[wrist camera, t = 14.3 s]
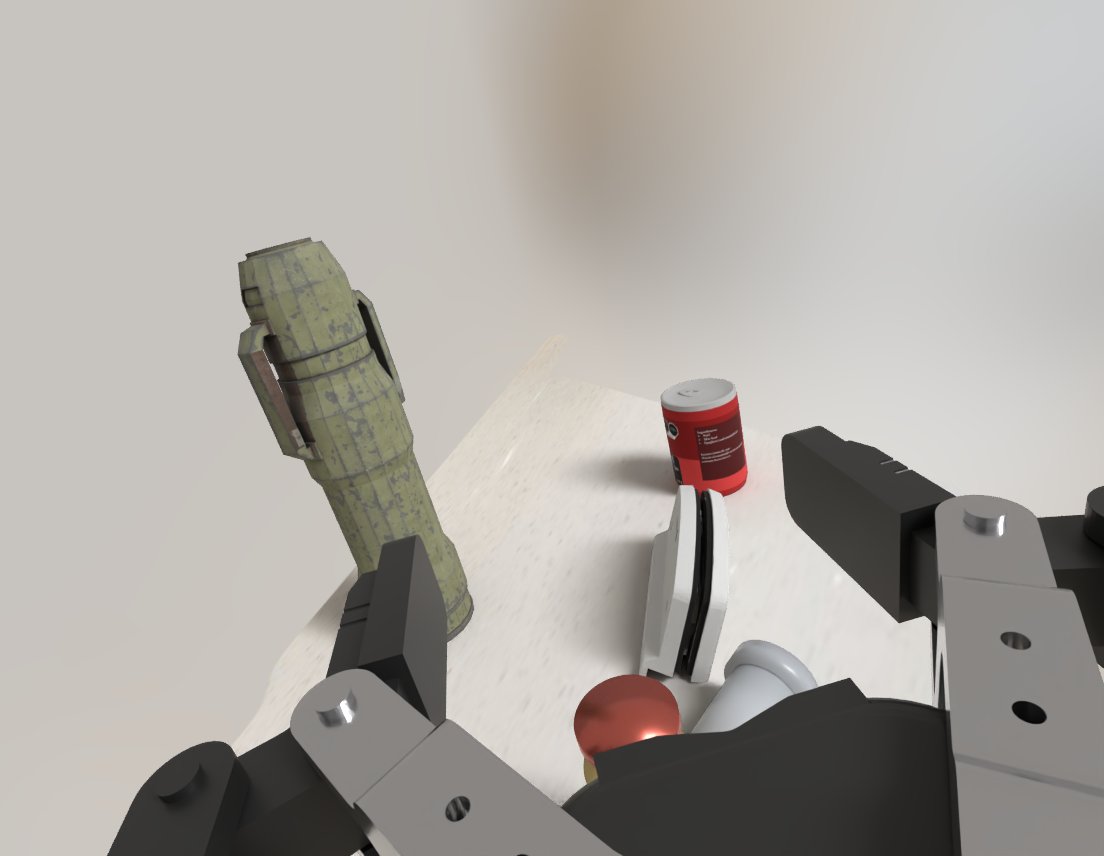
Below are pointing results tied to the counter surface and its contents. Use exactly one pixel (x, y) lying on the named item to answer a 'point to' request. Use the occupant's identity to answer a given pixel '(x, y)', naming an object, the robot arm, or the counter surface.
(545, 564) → the counter surface
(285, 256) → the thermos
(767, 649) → the grey octagonal holder
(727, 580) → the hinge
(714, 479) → the canned food
